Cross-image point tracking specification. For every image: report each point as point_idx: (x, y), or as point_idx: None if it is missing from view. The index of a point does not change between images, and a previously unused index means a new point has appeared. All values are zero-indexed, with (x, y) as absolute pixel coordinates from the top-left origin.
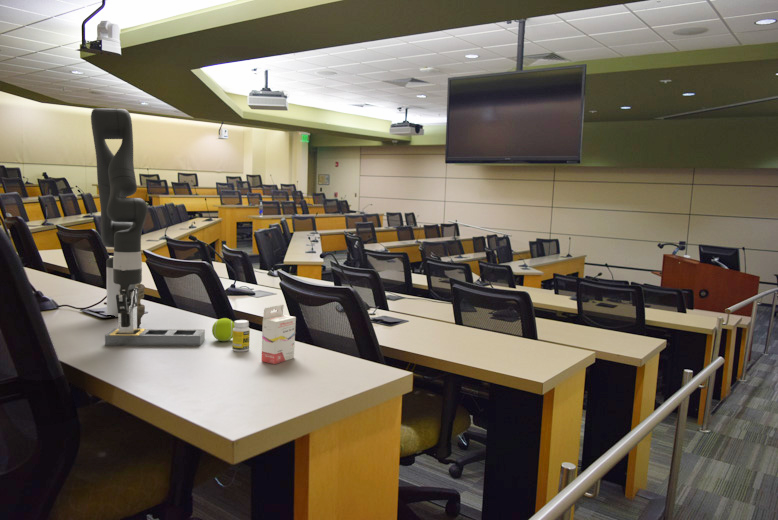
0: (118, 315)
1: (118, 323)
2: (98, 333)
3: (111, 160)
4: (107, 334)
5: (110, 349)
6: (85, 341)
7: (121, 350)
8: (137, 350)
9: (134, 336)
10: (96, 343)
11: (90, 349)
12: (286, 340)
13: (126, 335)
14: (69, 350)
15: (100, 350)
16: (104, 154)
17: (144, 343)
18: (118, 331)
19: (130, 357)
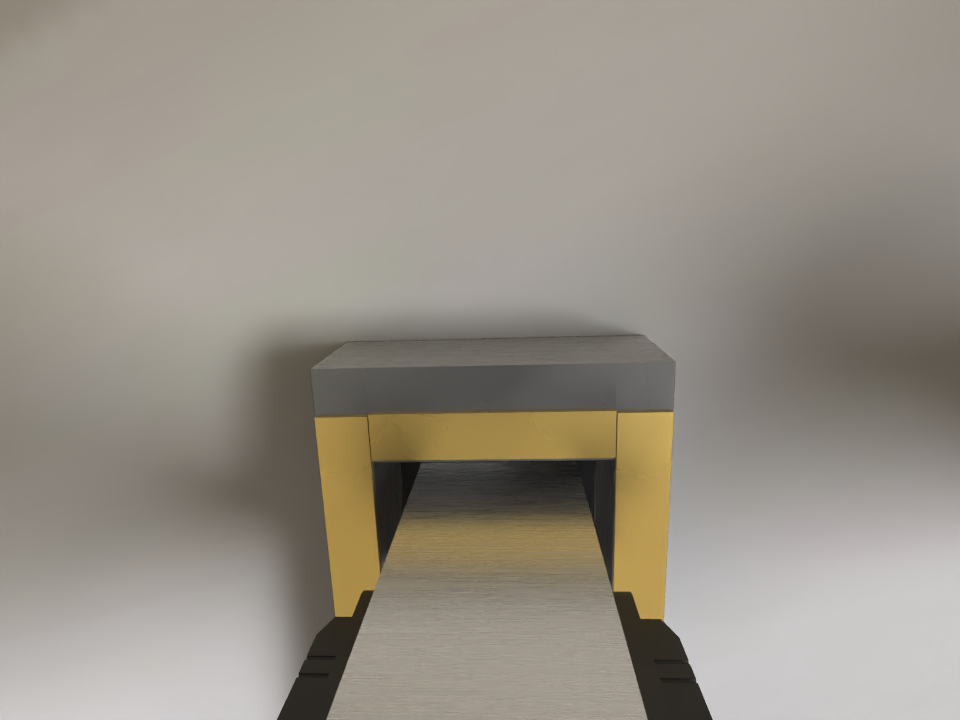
0: (349, 664)
1: (382, 568)
2: (933, 54)
3: None
4: (358, 382)
5: (225, 433)
6: (518, 59)
7: (207, 533)
8: (226, 651)
9: None
10: (435, 220)
11: (198, 251)
12: None
13: (336, 595)
14: (127, 48)
15: (178, 358)
16: None
17: None
18: (407, 504)
19: (21, 652)
